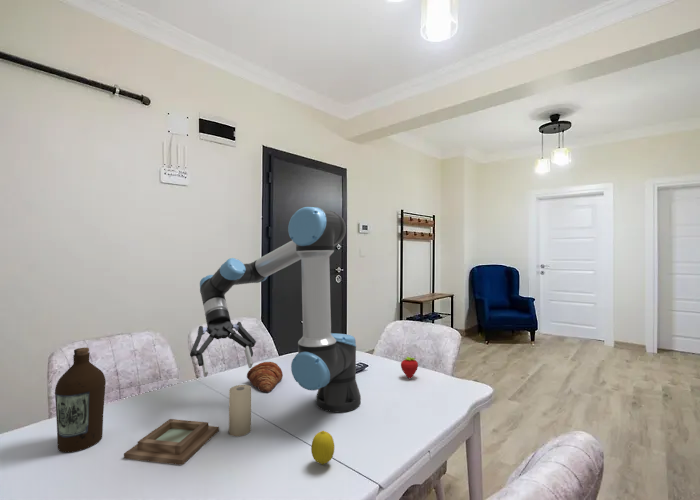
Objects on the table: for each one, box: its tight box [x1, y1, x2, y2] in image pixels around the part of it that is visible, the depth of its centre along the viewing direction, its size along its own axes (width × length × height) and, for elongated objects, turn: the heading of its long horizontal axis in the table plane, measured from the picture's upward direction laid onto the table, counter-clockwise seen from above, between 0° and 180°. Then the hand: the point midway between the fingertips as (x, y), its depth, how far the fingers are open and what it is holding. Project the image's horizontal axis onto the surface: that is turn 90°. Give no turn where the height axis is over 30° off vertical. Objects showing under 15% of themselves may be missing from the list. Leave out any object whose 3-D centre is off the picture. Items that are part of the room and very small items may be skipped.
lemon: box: [310, 430, 335, 465], centre depth 82 cm, size 6×6×8 cm
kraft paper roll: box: [228, 384, 252, 438], centre depth 98 cm, size 6×6×12 cm
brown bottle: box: [54, 347, 107, 454], centre depth 91 cm, size 11×11×25 cm
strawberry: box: [400, 354, 419, 379], centre depth 139 cm, size 6×8×10 cm
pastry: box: [246, 361, 284, 393], centre depth 134 cm, size 17×15×8 cm
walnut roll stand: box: [123, 418, 220, 466], centre depth 91 cm, size 16×16×3 cm
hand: (229, 370), depth 106 cm, fingers open, 13 cm apart
